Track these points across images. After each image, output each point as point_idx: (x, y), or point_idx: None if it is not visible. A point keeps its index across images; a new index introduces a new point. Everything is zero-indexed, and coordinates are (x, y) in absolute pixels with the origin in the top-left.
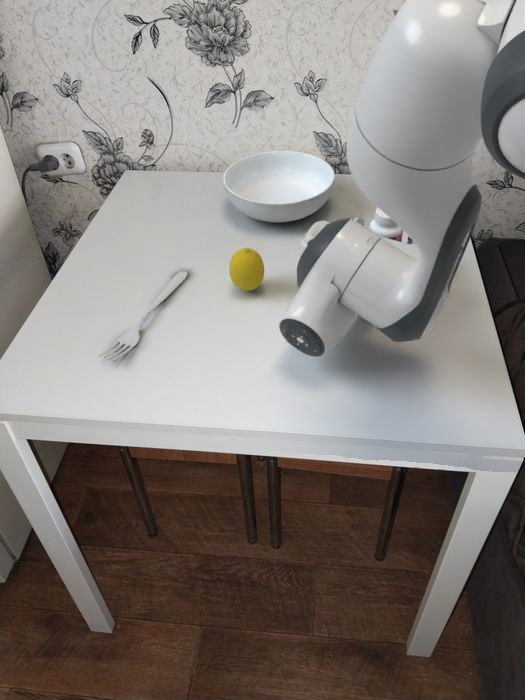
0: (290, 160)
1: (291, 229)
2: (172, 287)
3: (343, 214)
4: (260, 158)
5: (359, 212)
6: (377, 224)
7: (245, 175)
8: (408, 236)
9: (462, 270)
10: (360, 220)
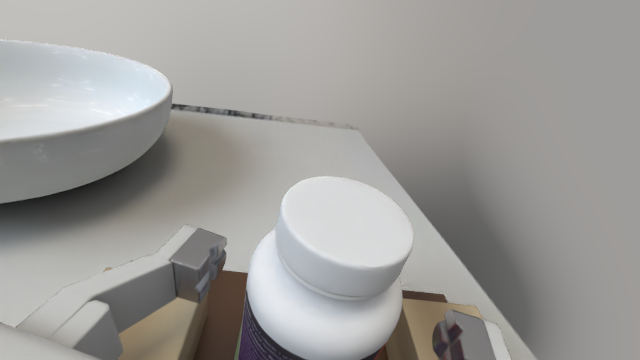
0: (92, 68)
1: (17, 225)
2: None
3: (196, 181)
4: (8, 51)
5: (232, 177)
6: (291, 281)
7: None
8: (466, 357)
9: None
10: (202, 245)
